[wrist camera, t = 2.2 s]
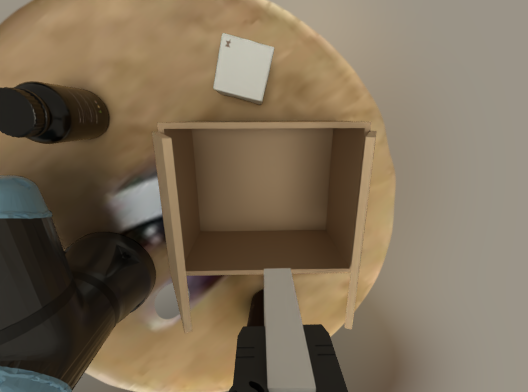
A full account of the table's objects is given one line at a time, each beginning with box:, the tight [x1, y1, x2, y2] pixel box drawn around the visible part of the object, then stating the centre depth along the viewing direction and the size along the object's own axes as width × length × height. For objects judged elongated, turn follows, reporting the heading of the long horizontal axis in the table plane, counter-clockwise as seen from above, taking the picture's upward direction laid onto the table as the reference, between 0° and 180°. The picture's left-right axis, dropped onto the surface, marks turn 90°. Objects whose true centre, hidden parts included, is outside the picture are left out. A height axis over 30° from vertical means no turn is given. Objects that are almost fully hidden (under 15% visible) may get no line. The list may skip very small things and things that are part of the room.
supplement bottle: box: [0, 81, 109, 144], centre depth 31 cm, size 7×7×12 cm
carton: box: [157, 121, 371, 276], centre depth 34 cm, size 22×18×12 cm
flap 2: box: [345, 131, 376, 329], centre depth 24 cm, size 10×16×1 cm
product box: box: [213, 33, 274, 105], centre depth 32 cm, size 6×6×7 cm
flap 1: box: [152, 132, 192, 333], centre depth 24 cm, size 10×16×1 cm
